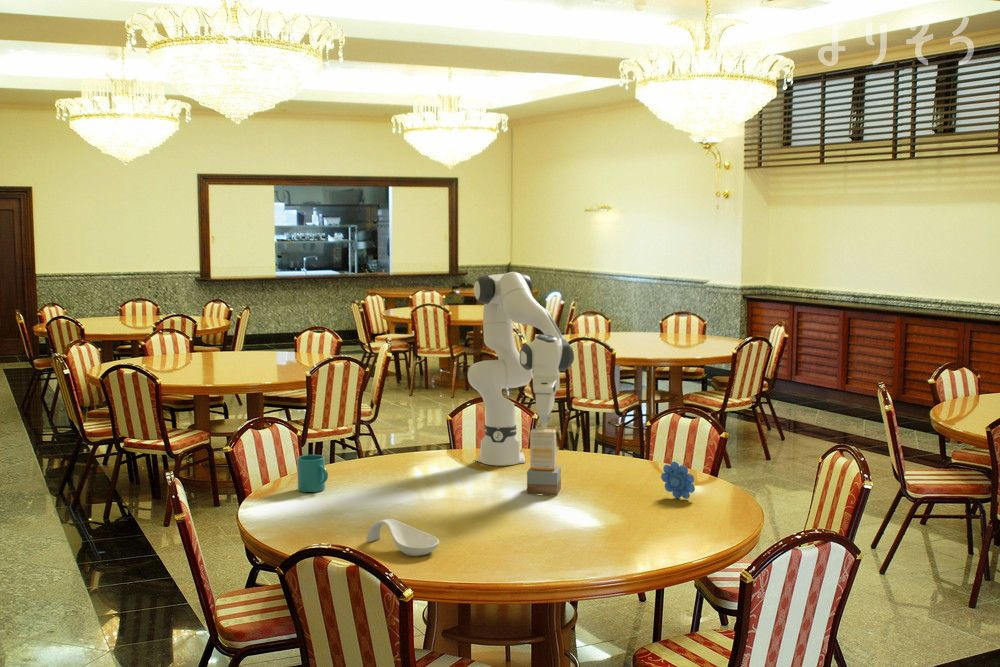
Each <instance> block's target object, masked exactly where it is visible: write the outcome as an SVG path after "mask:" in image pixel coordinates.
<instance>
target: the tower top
mask: <svg viewBox="0 0 1000 667" xmlns="http://www.w3.org/2000/svg"><path fill="white" fill-rule="evenodd" d="M561 470H562V466H560V465H556V468H555V470H554V471H553V470H531V466H529V468H528V470H527V472H526V485H527V484H547V485H557V484H558V482H559V480H560V478H561V479H562V473H561V472H562V471H561Z"/></svg>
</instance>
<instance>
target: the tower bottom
mask: <svg viewBox="0 0 1000 667" xmlns="http://www.w3.org/2000/svg"><path fill="white" fill-rule="evenodd" d="M561 489H562V477H561V478H560V480H559V482H558V484H557V485H547V484H527V483H526V495H527V494H543V495H542V496H550V495H557V496H558V495H559V493H560V492H561Z"/></svg>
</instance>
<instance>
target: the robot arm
mask: <svg viewBox="0 0 1000 667" xmlns="http://www.w3.org/2000/svg"><path fill="white" fill-rule="evenodd" d="M533 288H534V287H533V282H532V279H531V277H530V276H529V275H527V274H525V273H519V272H517V271H510V272H507V273H500V274H497V273H496V274H489V275H488V274H484V275H481V276H478V277H477V278H476V279H475V282H474V286H473V293H474V298H475V300H476V301H477V302H478V303H480V304H483V310H482V324H483V325H482V328H483V342H484V344H485V346H486V347H487V348H488V349H490V350H492V351H494V352H495V353H496V356H497V359H491V360H481V361H478V362H475V363H472V364H471V365H470V366H469V368H468V370H467V380H468V383H469V384H470V386H471V387H472V389H475V390H476V391H477V392H478V393H479V395H480V396H481V398H482V400H483V404H484V409H485V425H484V437H483V438H482V439H481V440H480V453H479V454H480V456H478V457H477V458H475V459H476V460H475V461H476V462H477V461H478V462H477V463H482V464H485V465H489V466H512V465H517V464H518V465H519V464H525V463H526V458H525V454H524V452H522V449H521V448H520V446H521V445H520V440H519V438H518V437H517V433H518V432H517V431H518V430H517V425H516V407H515V404H514V402H513V401H512V400H510V399H509V398H506V397H504V395H503V392H502V390H503V389H514V388H515V389H516V388H520V387H524V386H527V385H529V383H530V382H531V380H532V390H533V393H534V394H535V407H536V415H537V417H539V418H540V423H541V424H540V425H541V427H540V428H541V429H548V424H549V423H551V416H552V411H553V409H554V407H555V402H556V401H555V395H556V394H557V393H556V392H557V391H559V390H560V386H561V384H560V383H561V382H560V378H561V377H560V374H561V373H560V371H563V372H565V371H566V370H568V369H569V368H570V367H571V366H572V364H573V363H574V361H575V354H574V350H573V347H572V346H571V345H570V343H569V342H568V340H566V338H565V337H564V335H563V334H562V332H561V330H560V328H559V327H558V325H557V324H556V322H555V320H554V318H553V317H552V314H551V313H550V312H549V310H548V309H547V308H545V307H544V306H542V305H540V303H539V302H538V301H537V300H536V299H535V298H534V296H533V290H534V289H533ZM513 322H515V323H518V324H521V325H526V326H531V327H533V328H537V330H540V332H542V333H543V334H539V335H536V336H535V337H534V340H533V341H531V342H528V343H525V344H524V345H523V346H522V347H521V349H520V351H519V350H518V348H517V347H516V343H515V337H514V328H513V327H514V326H513Z"/></svg>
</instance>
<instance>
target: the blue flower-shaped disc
mask: <svg viewBox="0 0 1000 667" xmlns="http://www.w3.org/2000/svg"><path fill="white" fill-rule="evenodd" d="M662 468H663V469H662V470H663V473H661V475H660V479H661V481H662V482H664V483H665V484H664V490H665V491H667V492H668V493H672V496H673V497H674V498H675V499H677V498H678V499H681V497H682V498H684V499H689V498H690V497H691V496H690V495H691V494H693V493H695V491H696V487H695V485H694V484H693V483H694V482H695V477H694V475H693V474H692V473H689V468H688V467H687V466H686V465H684V464H681V465H680V464H679V463H678V462H676V461H671V462H670V464H665V465H664V466H662Z"/></svg>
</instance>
